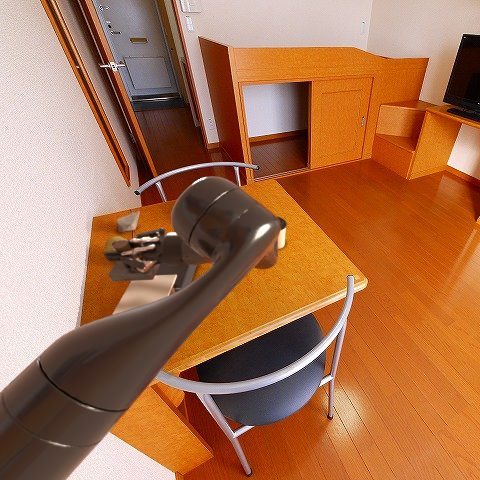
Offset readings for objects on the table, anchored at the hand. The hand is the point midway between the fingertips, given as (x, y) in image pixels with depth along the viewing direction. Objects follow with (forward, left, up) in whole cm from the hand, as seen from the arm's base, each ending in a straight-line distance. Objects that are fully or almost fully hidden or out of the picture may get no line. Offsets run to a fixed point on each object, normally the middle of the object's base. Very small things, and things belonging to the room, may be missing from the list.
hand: (110, 251), depth 61 cm
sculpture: (+13, +19, -20) cm, 30 cm away
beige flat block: (-4, -5, -20) cm, 21 cm away
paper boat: (+27, +28, -20) cm, 43 cm away
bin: (+11, 0, -20) cm, 22 cm away
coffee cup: (+34, -25, -20) cm, 46 cm away
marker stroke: (+7, -3, -18) cm, 20 cm away
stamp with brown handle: (+1, -3, -7) cm, 8 cm away
